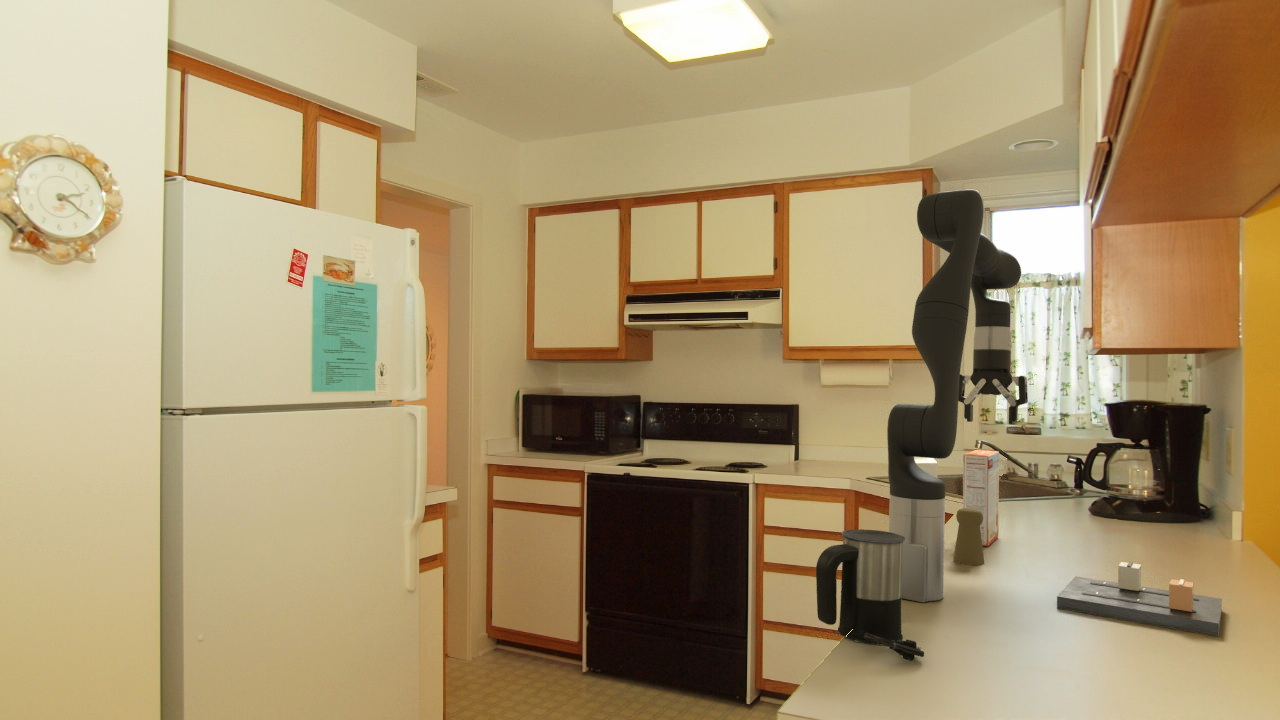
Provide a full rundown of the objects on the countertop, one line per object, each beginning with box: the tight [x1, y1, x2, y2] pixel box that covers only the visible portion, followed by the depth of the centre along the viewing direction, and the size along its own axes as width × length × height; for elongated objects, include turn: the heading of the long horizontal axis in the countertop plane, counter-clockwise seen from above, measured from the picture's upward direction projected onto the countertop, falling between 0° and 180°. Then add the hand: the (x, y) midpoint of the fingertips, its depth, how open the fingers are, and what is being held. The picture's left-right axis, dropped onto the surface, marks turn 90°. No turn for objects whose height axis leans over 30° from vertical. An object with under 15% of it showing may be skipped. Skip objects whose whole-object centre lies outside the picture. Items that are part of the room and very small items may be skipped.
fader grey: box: [1117, 561, 1142, 591], centre depth 141 cm, size 4×3×4 cm
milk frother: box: [815, 528, 925, 662], centre depth 115 cm, size 14×16×15 cm
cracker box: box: [962, 449, 1000, 547], centre depth 191 cm, size 14×6×21 cm, turn 147°
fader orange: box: [1168, 578, 1195, 612], centre depth 129 cm, size 4×3×4 cm
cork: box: [953, 507, 985, 566], centre depth 169 cm, size 6×6×11 cm
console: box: [1056, 575, 1223, 638], centre depth 136 cm, size 18×22×2 cm
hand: (990, 422), depth 176 cm, fingers open, 8 cm apart
